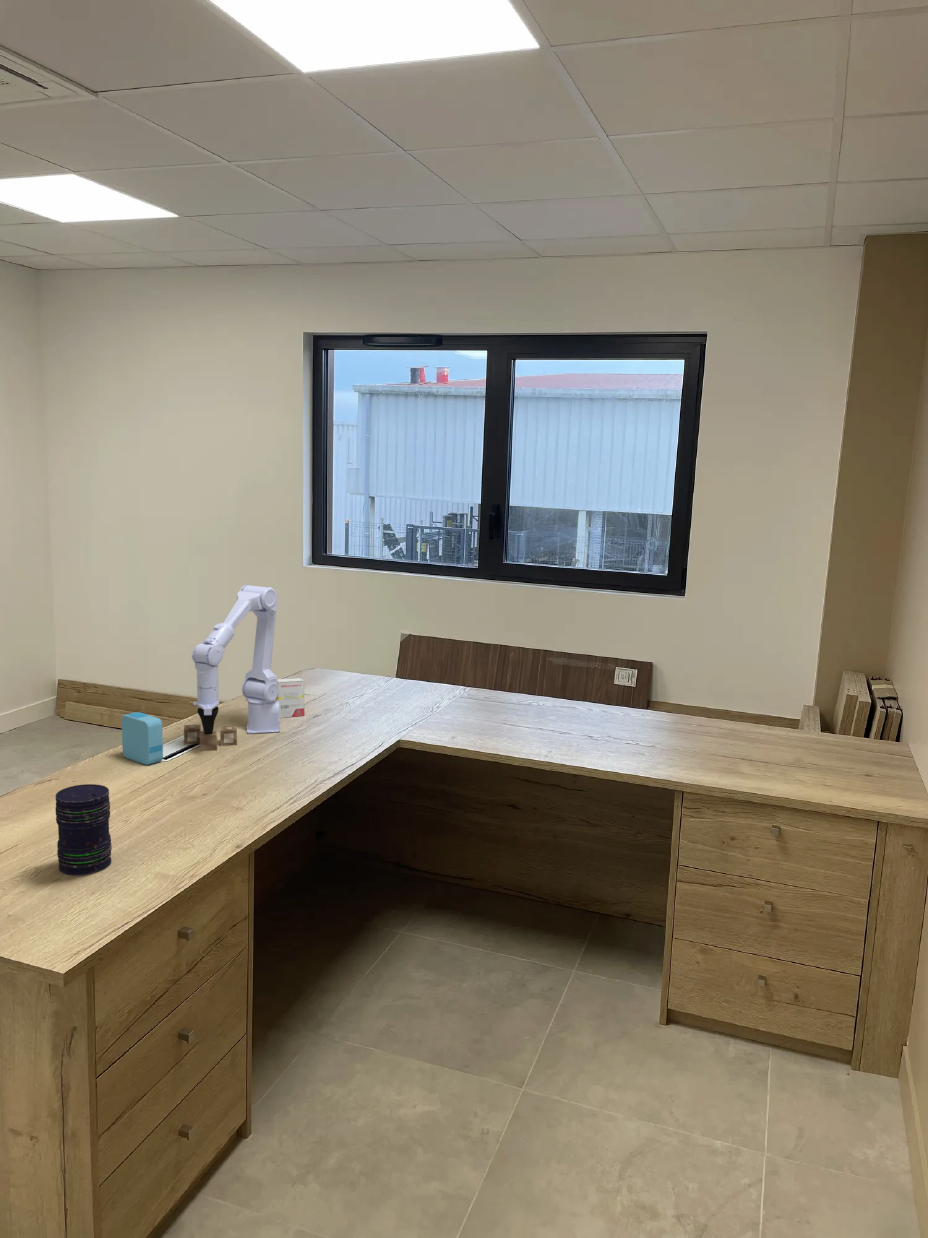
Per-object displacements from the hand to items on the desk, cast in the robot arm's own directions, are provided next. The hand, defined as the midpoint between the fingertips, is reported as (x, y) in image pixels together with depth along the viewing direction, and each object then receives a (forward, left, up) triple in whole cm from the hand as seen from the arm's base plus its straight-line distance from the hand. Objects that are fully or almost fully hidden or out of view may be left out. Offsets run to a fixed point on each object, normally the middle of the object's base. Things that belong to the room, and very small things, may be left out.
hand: (208, 733), depth 249 cm
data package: (+17, +7, -5) cm, 19 cm away
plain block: (0, 0, -4) cm, 4 cm away
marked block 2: (-6, -4, -4) cm, 8 cm away
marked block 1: (+4, -7, -4) cm, 9 cm away
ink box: (-25, -31, -5) cm, 40 cm away
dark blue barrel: (+23, +72, -5) cm, 76 cm away
